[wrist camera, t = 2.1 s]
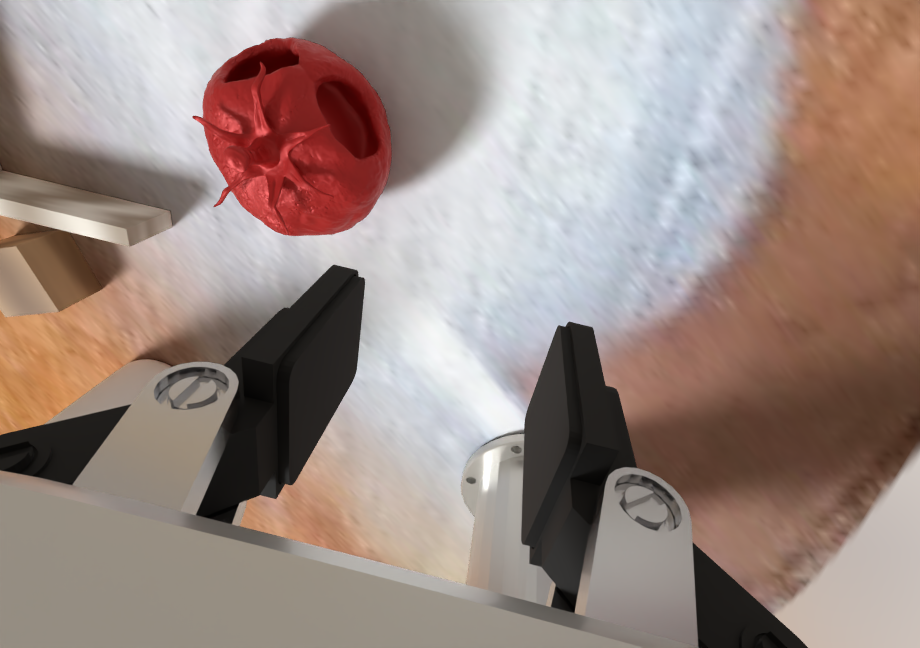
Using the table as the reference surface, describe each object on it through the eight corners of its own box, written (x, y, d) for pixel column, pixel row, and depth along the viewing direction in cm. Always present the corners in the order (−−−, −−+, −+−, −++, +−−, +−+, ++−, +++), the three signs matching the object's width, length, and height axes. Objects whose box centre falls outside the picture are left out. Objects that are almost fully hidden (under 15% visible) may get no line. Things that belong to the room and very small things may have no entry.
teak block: (68, 227, 34) (15, 246, 31) (103, 288, 36) (59, 311, 33) (16, 235, 35) (-41, 254, 32) (54, 293, 37) (5, 317, 34)
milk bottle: (109, 354, 40) (-216, 576, 23) (189, 358, 39) (-88, 595, 21) (142, 421, 44) (-114, 656, 26) (216, 427, 42) (-1, 676, 25)
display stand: (128, -86, 24) (47, -116, 20) (172, 227, 33) (122, 250, 29) (-117, -142, 24) (-246, -182, 20) (-8, 183, 33) (-83, 199, 29)
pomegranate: (364, 241, 31) (307, 307, 23) (229, 157, 30) (118, 198, 22) (436, 106, 26) (392, 132, 18) (277, -4, 25) (154, -26, 17)
